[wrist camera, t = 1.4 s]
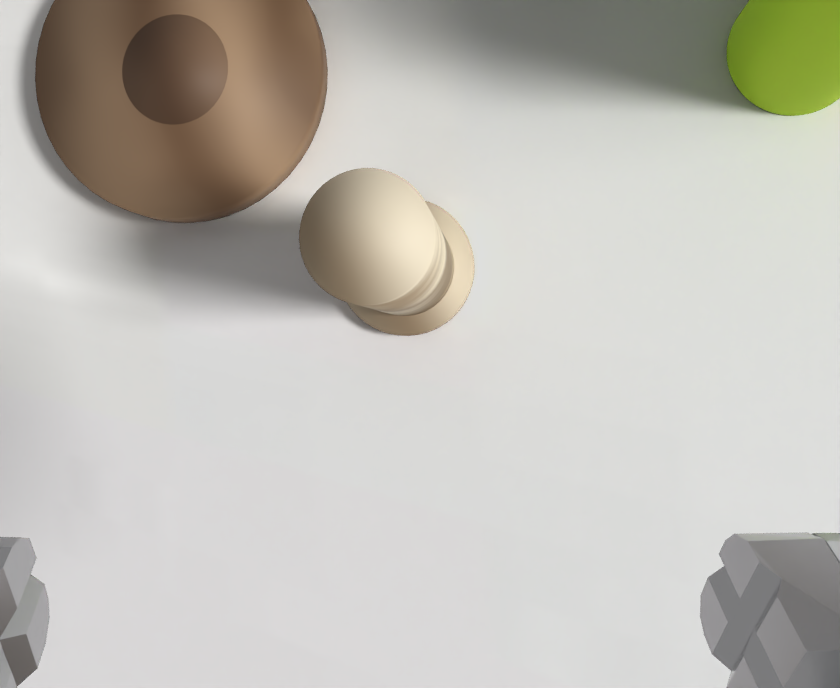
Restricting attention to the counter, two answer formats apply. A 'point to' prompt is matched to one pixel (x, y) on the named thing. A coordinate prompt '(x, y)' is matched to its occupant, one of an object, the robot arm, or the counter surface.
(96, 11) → the base
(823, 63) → the soap dispenser
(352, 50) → the counter surface
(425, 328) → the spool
